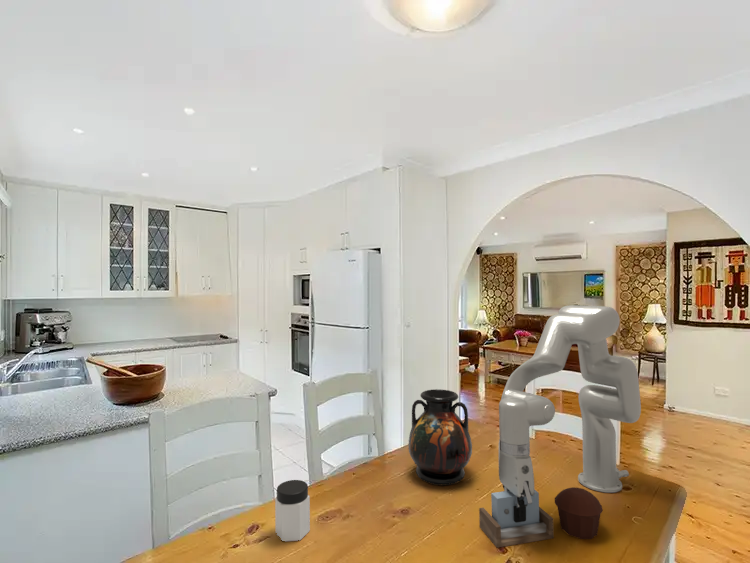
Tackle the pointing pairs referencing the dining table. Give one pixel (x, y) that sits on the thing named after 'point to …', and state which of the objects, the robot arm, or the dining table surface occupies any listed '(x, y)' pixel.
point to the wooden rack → (516, 530)
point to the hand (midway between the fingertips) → (515, 516)
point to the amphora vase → (440, 438)
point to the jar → (292, 510)
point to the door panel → (505, 509)
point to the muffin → (578, 512)
